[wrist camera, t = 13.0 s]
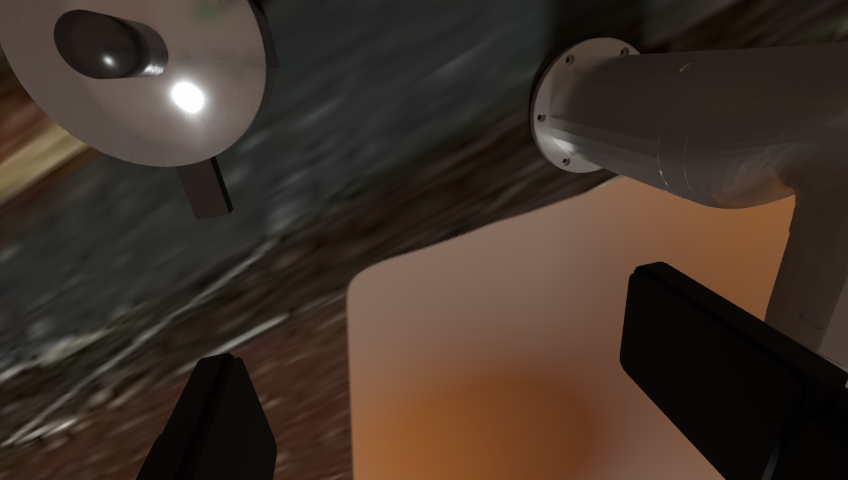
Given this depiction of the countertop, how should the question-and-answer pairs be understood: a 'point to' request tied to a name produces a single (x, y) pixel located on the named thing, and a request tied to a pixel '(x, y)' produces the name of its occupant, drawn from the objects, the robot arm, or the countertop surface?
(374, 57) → the countertop surface
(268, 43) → the pot
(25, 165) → the countertop surface
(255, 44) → the lid
